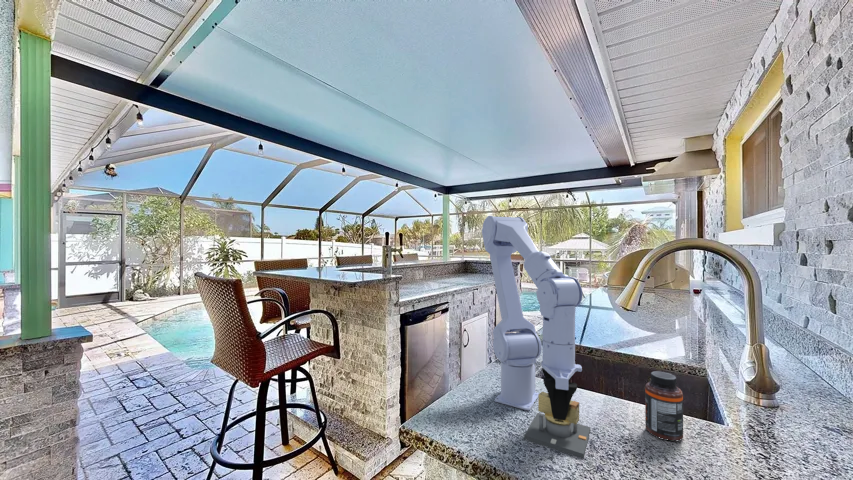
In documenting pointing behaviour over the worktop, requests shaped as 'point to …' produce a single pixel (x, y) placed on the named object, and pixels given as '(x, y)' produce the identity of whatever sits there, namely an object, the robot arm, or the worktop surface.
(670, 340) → the worktop surface
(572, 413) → the lever handle
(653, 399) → the supplement bottle
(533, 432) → the post base
